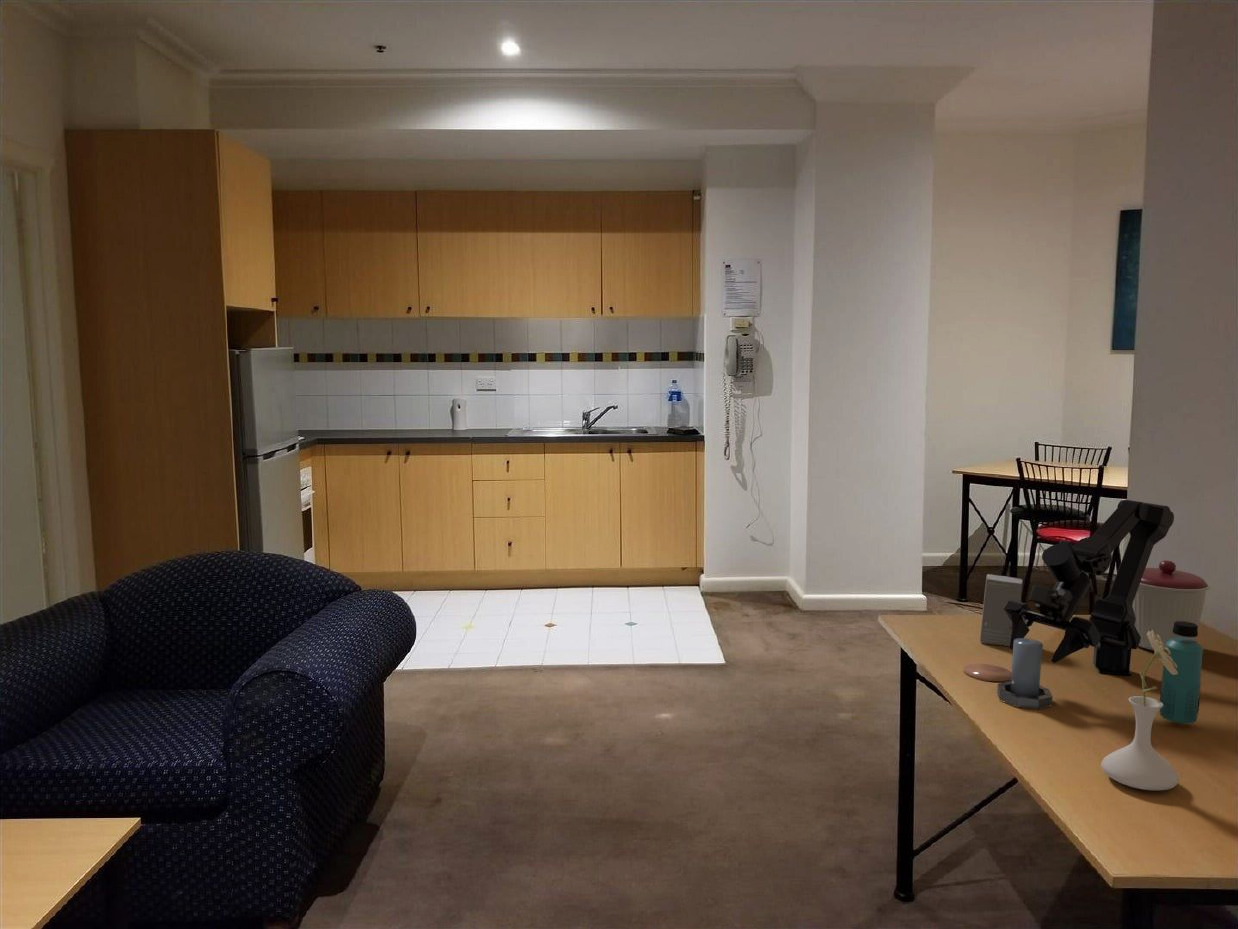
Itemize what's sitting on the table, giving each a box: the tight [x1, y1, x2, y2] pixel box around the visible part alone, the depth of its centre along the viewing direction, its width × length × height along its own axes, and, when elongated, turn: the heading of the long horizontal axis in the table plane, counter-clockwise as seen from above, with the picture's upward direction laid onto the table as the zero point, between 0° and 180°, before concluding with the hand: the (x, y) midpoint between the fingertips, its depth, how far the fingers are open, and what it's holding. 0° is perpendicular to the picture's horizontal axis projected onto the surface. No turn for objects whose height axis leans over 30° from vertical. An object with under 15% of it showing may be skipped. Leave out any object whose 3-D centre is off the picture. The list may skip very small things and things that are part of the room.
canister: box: [1132, 559, 1211, 652], centre depth 230 cm, size 18×18×21 cm
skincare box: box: [979, 573, 1023, 647], centre depth 232 cm, size 8×7×16 cm
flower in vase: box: [1100, 630, 1180, 791], centre depth 159 cm, size 13×11×25 cm
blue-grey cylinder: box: [1010, 637, 1044, 697], centre depth 195 cm, size 5×5×12 cm
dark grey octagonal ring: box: [996, 680, 1053, 710], centre depth 196 cm, size 10×10×2 cm
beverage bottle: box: [1159, 621, 1204, 724], centre depth 183 cm, size 6×7×20 cm
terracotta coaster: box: [963, 663, 1011, 682], centre depth 210 cm, size 10×10×1 cm
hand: (1031, 655), depth 195 cm, fingers open, 9 cm apart
